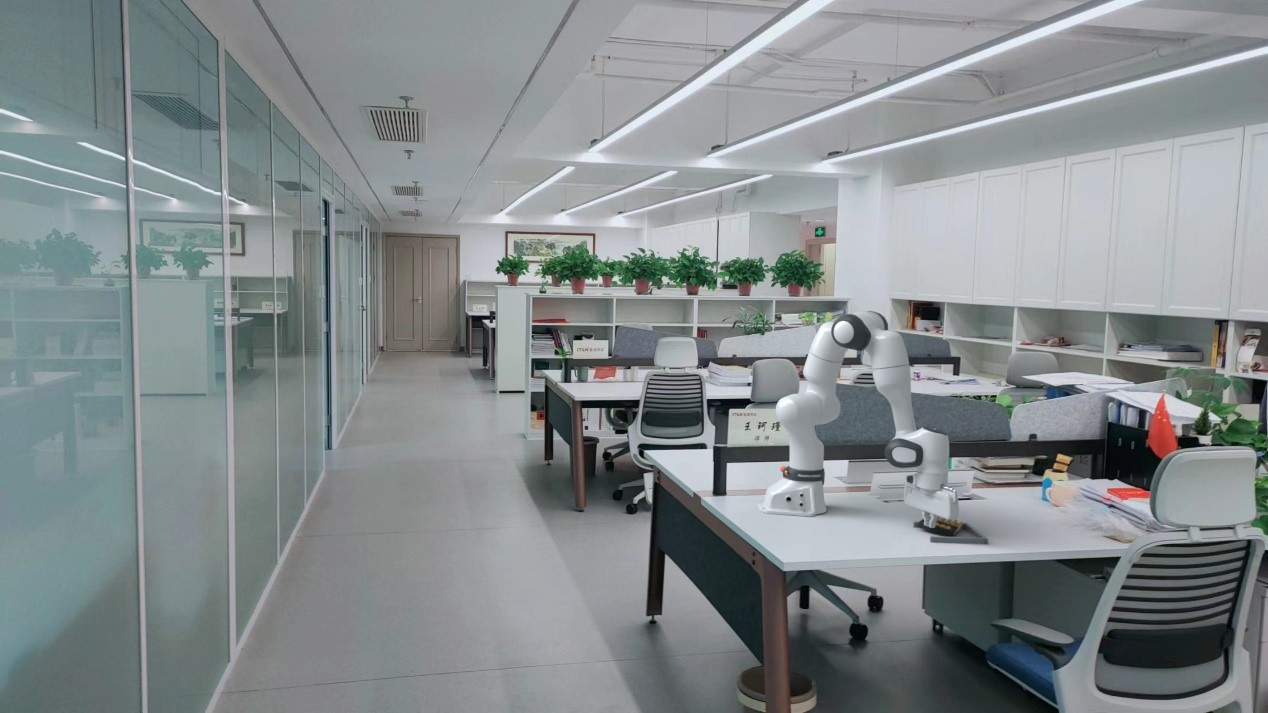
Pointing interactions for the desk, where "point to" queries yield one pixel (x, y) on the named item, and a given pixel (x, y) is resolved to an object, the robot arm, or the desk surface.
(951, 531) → the ammunition clip
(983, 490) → the desk surface
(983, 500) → the desk surface
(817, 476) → the robot arm
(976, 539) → the grey frame
